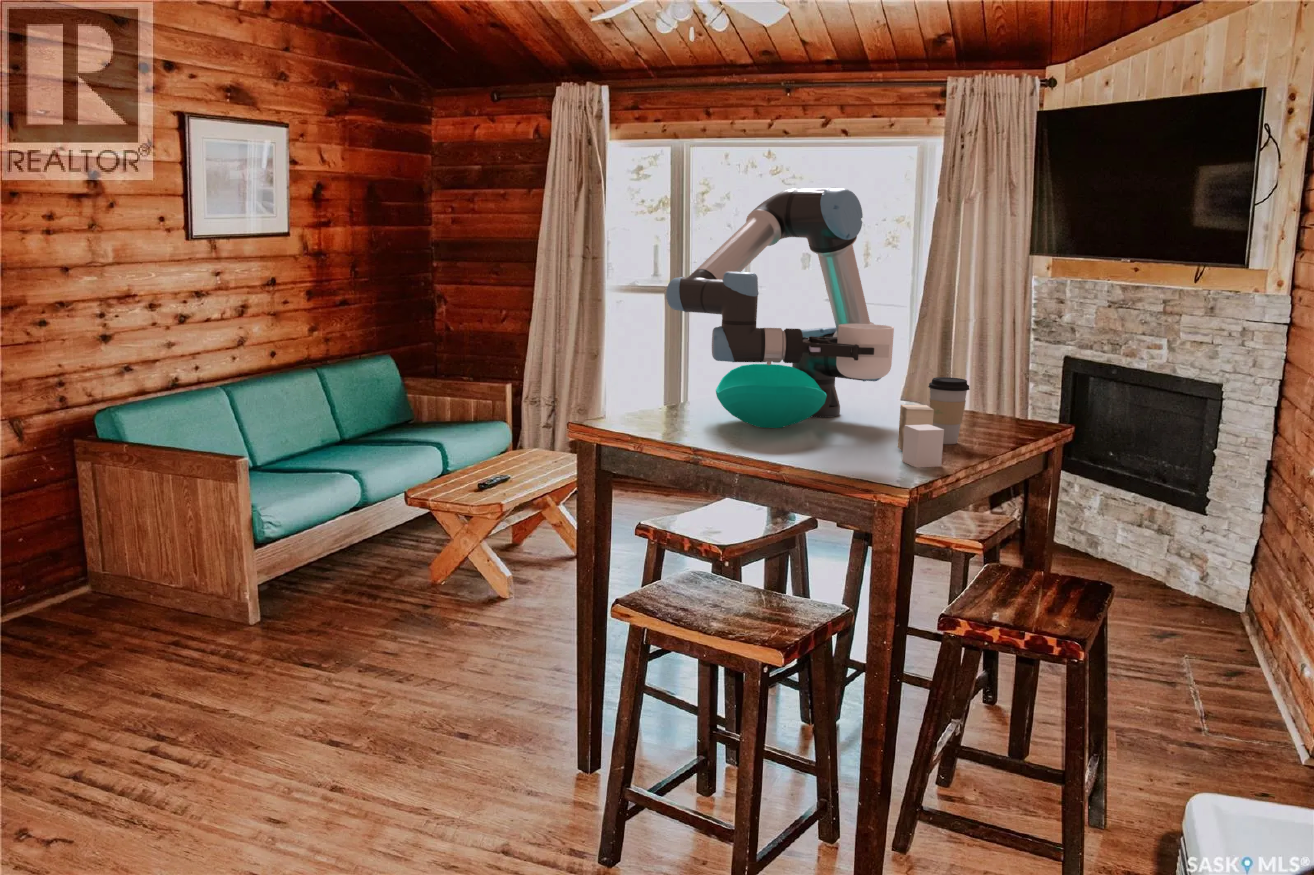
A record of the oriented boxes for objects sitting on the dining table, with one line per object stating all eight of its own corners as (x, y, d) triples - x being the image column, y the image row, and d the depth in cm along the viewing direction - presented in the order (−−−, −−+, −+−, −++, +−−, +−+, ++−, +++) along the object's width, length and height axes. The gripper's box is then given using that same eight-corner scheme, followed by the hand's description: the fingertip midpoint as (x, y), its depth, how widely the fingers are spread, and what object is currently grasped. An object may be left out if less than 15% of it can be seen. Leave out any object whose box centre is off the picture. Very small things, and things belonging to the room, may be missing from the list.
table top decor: (834, 443, 242) (837, 387, 239) (715, 440, 243) (717, 384, 240) (815, 413, 281) (818, 365, 278) (713, 410, 282) (715, 362, 279)
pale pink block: (902, 461, 225) (904, 425, 224) (926, 460, 227) (929, 424, 225) (916, 467, 220) (918, 430, 218) (941, 466, 221) (944, 429, 220)
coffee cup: (916, 441, 247) (921, 378, 244) (937, 436, 254) (942, 375, 251) (952, 447, 240) (957, 383, 237) (972, 442, 247) (977, 380, 244)
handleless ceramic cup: (888, 382, 220) (892, 329, 218) (832, 378, 223) (835, 326, 221) (892, 375, 231) (895, 325, 229) (838, 372, 235) (841, 322, 232)
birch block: (897, 447, 240) (900, 404, 238) (923, 447, 240) (926, 405, 238) (904, 452, 234) (907, 409, 232) (930, 453, 234) (933, 409, 232)
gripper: (775, 356, 238) (868, 357, 239) (789, 370, 215) (893, 372, 215) (776, 323, 237) (870, 325, 237) (791, 334, 213) (896, 336, 214)
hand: (881, 347), depth 226 cm, fingers closed on handleless ceramic cup, 12 cm apart
